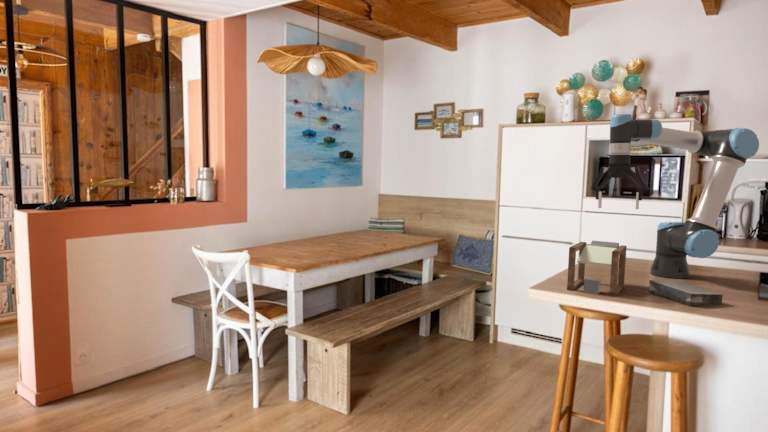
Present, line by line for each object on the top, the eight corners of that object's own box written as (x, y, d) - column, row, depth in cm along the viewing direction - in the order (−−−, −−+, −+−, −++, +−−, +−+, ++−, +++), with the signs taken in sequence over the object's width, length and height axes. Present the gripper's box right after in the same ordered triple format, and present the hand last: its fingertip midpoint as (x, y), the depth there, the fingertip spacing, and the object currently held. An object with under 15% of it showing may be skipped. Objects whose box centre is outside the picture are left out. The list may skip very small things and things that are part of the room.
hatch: (621, 252, 209) (621, 239, 207) (611, 277, 193) (611, 263, 191) (589, 249, 215) (589, 236, 213) (577, 273, 199) (577, 260, 197)
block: (690, 307, 176) (691, 292, 175) (647, 293, 195) (648, 280, 194) (723, 306, 179) (724, 291, 179) (678, 292, 198) (679, 279, 198)
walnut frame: (623, 286, 204) (626, 245, 202) (615, 296, 188) (618, 252, 186) (578, 280, 213) (580, 241, 211) (567, 289, 197) (569, 247, 195)
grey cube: (598, 281, 190) (597, 294, 191) (601, 278, 194) (600, 291, 195) (584, 279, 193) (583, 292, 193) (586, 276, 197) (586, 290, 198)
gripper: (584, 154, 209) (583, 208, 211) (654, 153, 196) (652, 210, 199) (587, 155, 216) (586, 206, 218) (656, 153, 203) (654, 208, 205)
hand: (618, 208), depth 208 cm, fingers open, 13 cm apart
